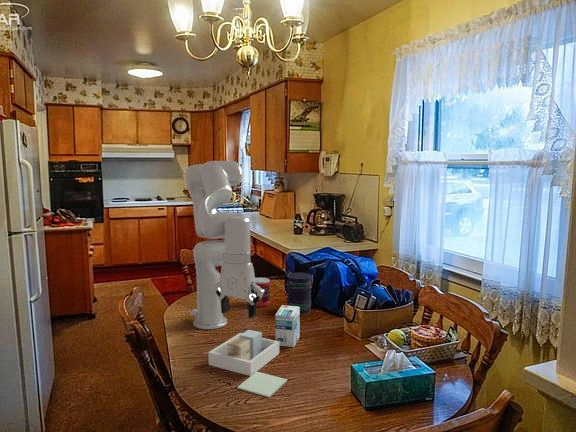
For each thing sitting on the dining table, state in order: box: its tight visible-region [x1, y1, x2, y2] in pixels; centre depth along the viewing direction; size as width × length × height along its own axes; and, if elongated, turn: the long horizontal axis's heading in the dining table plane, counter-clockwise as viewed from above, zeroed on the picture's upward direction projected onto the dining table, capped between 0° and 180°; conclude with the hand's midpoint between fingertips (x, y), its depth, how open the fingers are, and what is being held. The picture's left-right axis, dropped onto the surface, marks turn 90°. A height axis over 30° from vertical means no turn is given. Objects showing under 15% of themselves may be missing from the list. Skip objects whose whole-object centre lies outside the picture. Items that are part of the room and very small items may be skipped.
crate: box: [207, 332, 280, 377], centre depth 137 cm, size 15×17×4 cm
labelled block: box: [227, 337, 251, 361], centre depth 134 cm, size 5×5×7 cm
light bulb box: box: [274, 304, 301, 348], centre depth 151 cm, size 11×7×11 cm, turn 168°
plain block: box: [240, 329, 263, 360], centre depth 140 cm, size 5×5×7 cm
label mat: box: [236, 371, 288, 398], centre depth 122 cm, size 10×10×1 cm
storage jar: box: [286, 271, 312, 316], centre depth 181 cm, size 10×10×15 cm
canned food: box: [252, 277, 271, 308], centre depth 189 cm, size 8×8×11 cm
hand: (238, 314), depth 132 cm, fingers open, 9 cm apart
